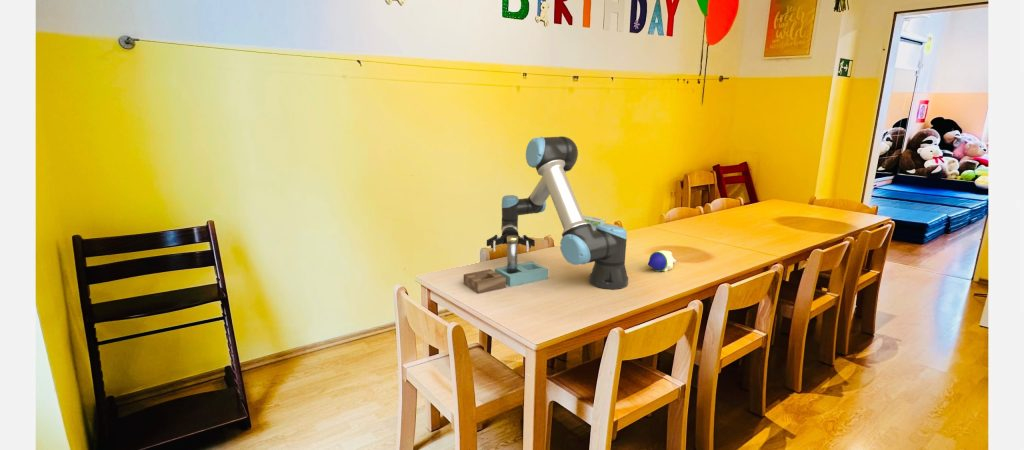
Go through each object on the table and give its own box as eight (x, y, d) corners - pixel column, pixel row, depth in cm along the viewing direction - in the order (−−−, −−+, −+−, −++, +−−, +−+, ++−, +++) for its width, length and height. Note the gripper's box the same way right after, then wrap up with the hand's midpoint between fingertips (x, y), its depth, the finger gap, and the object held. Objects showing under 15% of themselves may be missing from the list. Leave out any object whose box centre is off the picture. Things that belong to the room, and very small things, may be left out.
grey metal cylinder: (519, 280, 199) (520, 237, 195) (510, 282, 197) (510, 238, 193) (513, 277, 203) (514, 234, 198) (504, 279, 200) (504, 236, 196)
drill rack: (548, 278, 202) (548, 269, 201) (510, 286, 192) (510, 277, 192) (531, 270, 212) (531, 261, 211) (494, 277, 202) (494, 268, 201)
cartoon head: (676, 272, 219) (651, 281, 206) (660, 257, 224) (635, 264, 211) (687, 258, 214) (662, 266, 201) (671, 243, 219) (646, 250, 206)
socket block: (505, 287, 191) (505, 277, 190) (478, 293, 185) (478, 283, 184) (490, 278, 201) (490, 269, 200) (463, 283, 195) (463, 274, 194)
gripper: (537, 242, 224) (541, 257, 203) (482, 242, 223) (480, 257, 203) (538, 226, 222) (542, 239, 201) (482, 226, 221) (480, 239, 201)
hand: (511, 248), depth 202 cm, fingers open, 13 cm apart
